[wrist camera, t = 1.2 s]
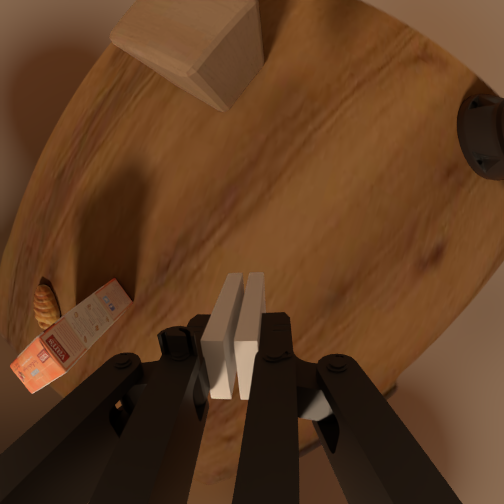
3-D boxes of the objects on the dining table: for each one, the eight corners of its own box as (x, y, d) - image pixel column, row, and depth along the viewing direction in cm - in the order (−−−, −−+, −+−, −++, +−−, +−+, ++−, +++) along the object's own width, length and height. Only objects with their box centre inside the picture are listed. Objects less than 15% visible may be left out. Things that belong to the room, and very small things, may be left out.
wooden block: (211, 33, 33) (170, -40, 14) (267, 63, 34) (262, -10, 15) (172, 83, 36) (101, 38, 17) (226, 116, 37) (185, 78, 18)
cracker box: (114, 274, 45) (36, 335, 25) (135, 302, 46) (68, 375, 26) (73, 308, 48) (7, 365, 28) (92, 333, 49) (32, 397, 29)
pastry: (35, 280, 48) (24, 286, 44) (57, 285, 47) (45, 292, 44) (43, 319, 50) (33, 327, 47) (64, 326, 50) (55, 334, 46)
